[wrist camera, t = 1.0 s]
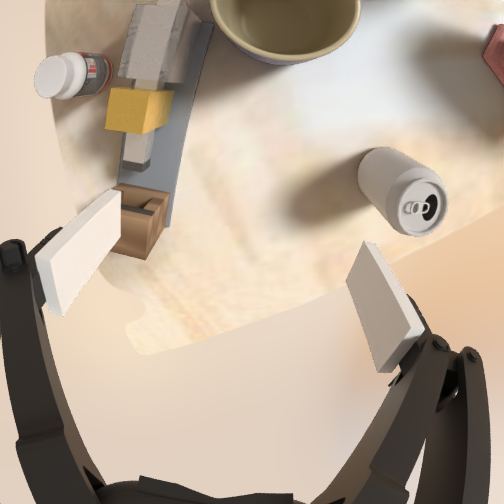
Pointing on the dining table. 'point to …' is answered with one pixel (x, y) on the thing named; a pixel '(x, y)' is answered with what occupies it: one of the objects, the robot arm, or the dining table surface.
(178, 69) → the sleeve
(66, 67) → the pill bottle
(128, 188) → the socket
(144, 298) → the dining table surface
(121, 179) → the board
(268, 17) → the planter
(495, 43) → the yellow fan-shaped sign
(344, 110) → the dining table surface
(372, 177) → the can
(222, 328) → the dining table surface
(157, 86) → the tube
